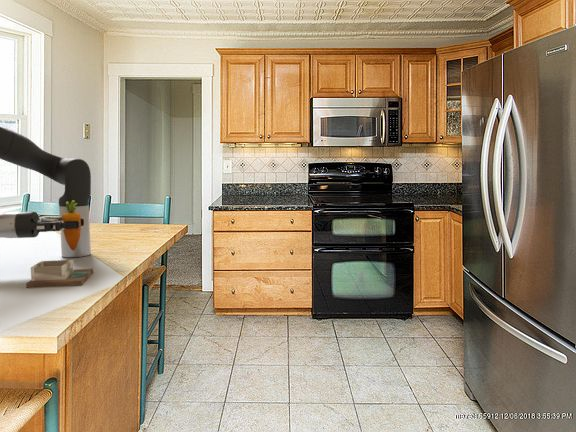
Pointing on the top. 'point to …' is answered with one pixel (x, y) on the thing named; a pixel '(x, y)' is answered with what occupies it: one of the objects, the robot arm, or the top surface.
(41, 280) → the socket board
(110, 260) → the top surface
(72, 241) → the carrot
